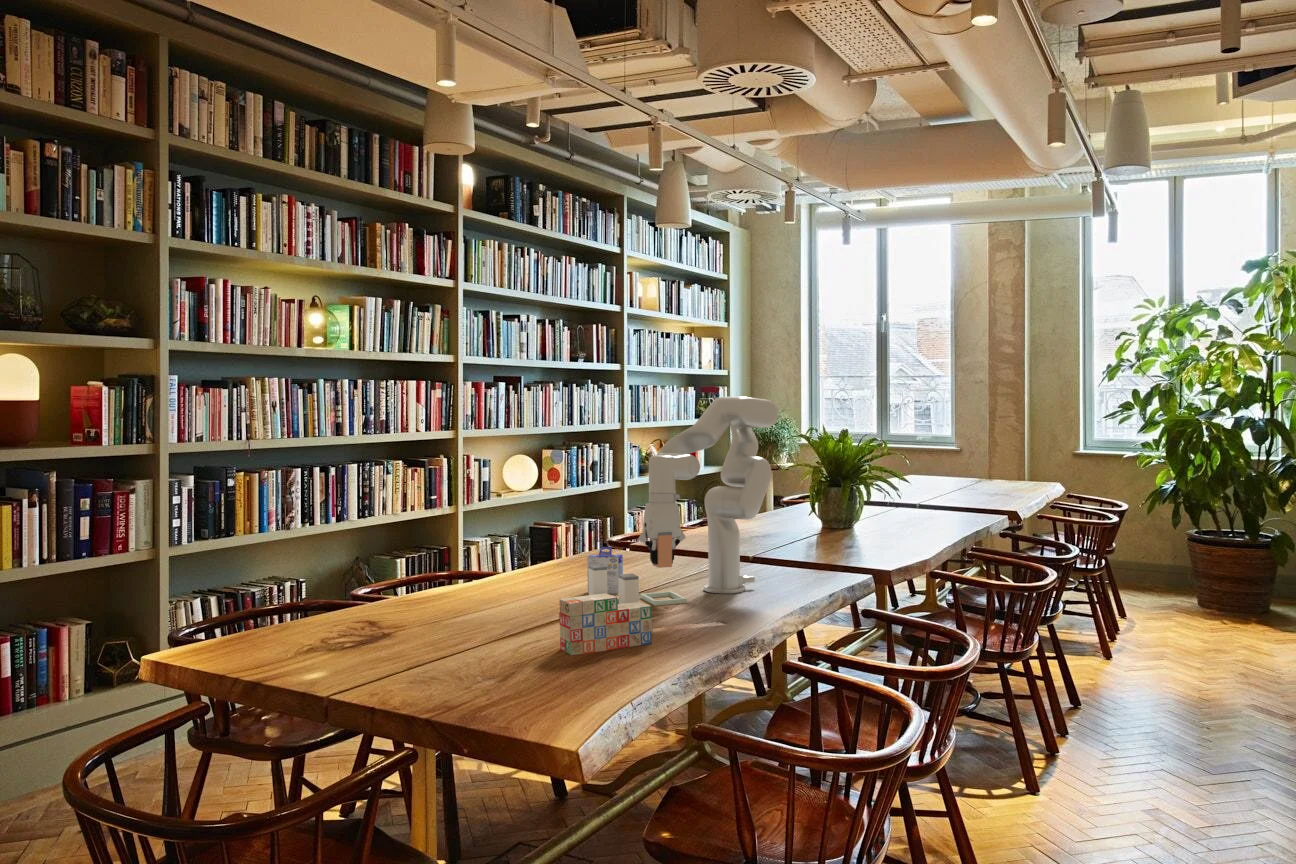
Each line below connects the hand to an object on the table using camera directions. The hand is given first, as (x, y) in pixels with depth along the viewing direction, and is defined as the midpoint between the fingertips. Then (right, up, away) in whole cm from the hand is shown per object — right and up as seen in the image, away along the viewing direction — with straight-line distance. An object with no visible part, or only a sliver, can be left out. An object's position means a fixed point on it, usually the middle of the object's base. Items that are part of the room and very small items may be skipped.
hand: (662, 562), depth 286 cm
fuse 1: (-18, -11, +3) cm, 22 cm away
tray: (0, -12, +1) cm, 12 cm away
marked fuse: (0, -1, 0) cm, 1 cm away
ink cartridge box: (-17, -12, +15) cm, 25 cm away
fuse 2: (-9, -12, -13) cm, 19 cm away
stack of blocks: (-14, -14, -47) cm, 51 cm away
